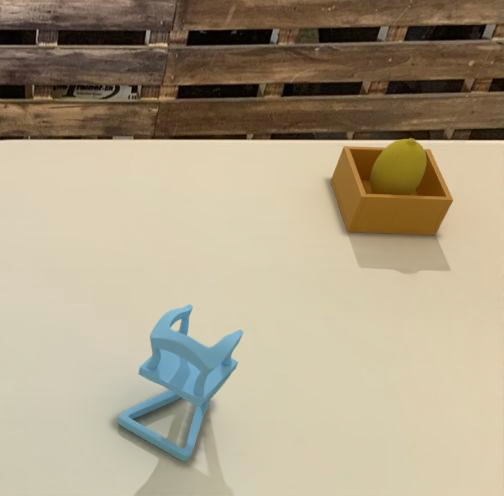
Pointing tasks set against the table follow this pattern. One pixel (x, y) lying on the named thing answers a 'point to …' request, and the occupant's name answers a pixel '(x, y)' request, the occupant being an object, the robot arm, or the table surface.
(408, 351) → the table surface
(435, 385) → the table surface
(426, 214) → the ochre bin
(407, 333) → the table surface
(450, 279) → the table surface
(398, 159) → the lemon
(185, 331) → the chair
